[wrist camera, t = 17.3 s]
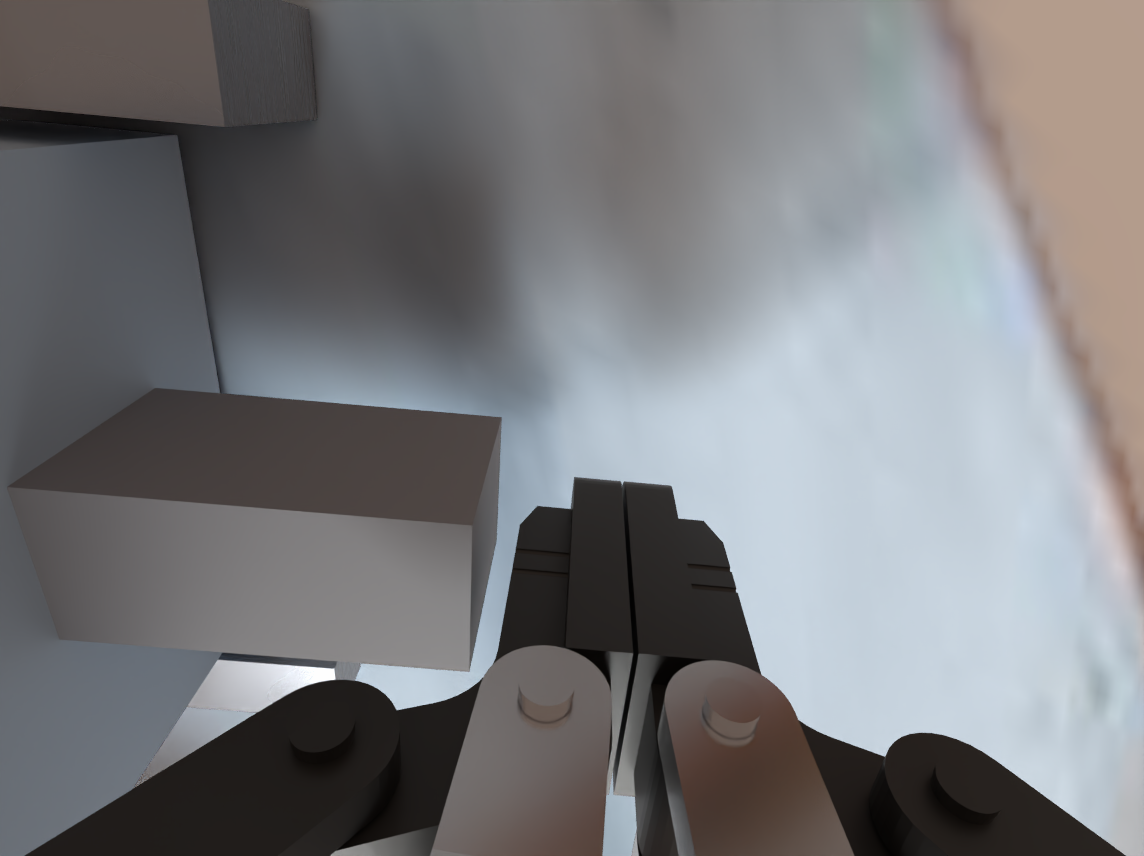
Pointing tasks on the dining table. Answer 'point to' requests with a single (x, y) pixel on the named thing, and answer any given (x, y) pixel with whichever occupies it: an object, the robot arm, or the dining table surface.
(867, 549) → the dining table surface
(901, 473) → the dining table surface
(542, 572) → the robot arm
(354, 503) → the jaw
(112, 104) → the vise
